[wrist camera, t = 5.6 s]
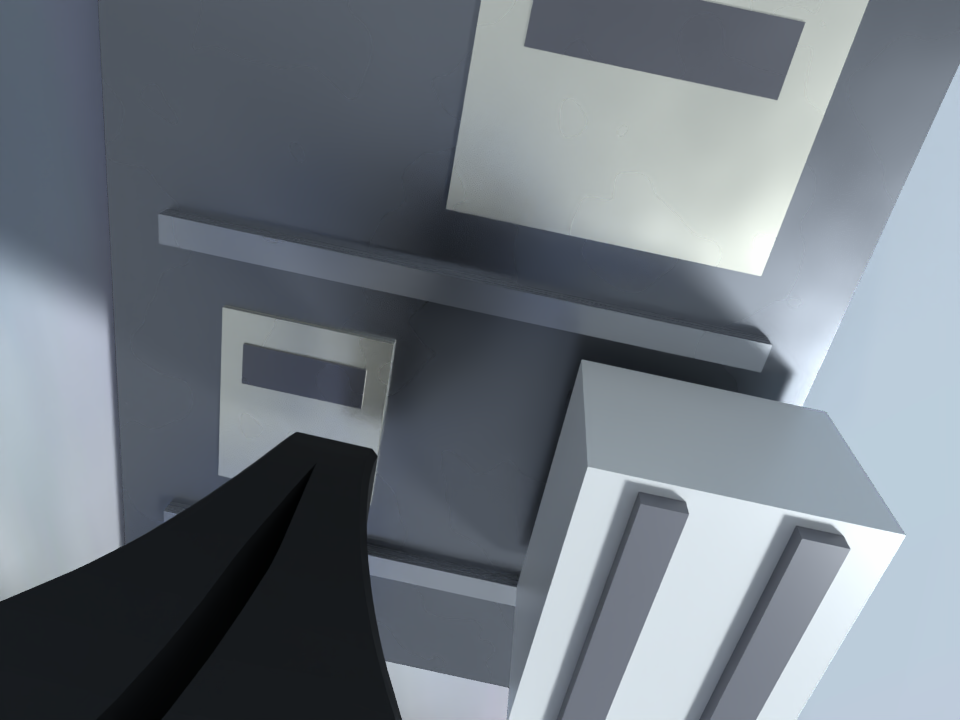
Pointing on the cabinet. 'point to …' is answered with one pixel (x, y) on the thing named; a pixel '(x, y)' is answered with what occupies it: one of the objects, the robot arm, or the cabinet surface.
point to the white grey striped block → (691, 556)
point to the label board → (481, 242)
